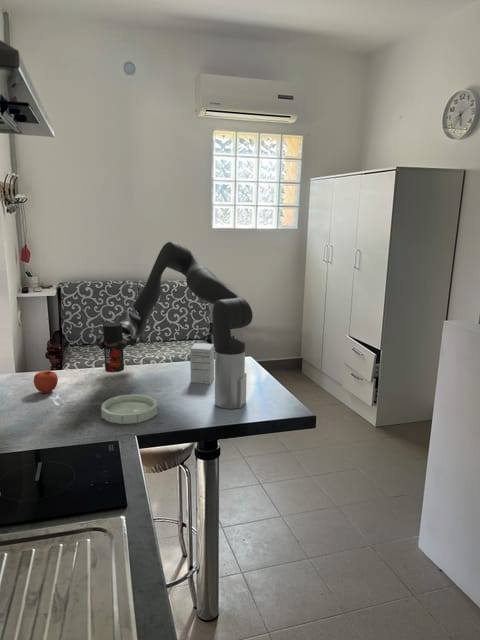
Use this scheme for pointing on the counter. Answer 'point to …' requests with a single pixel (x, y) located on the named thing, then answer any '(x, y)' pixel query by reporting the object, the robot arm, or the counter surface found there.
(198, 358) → the supplement box
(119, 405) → the round tray
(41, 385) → the apple
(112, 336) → the deodorant
